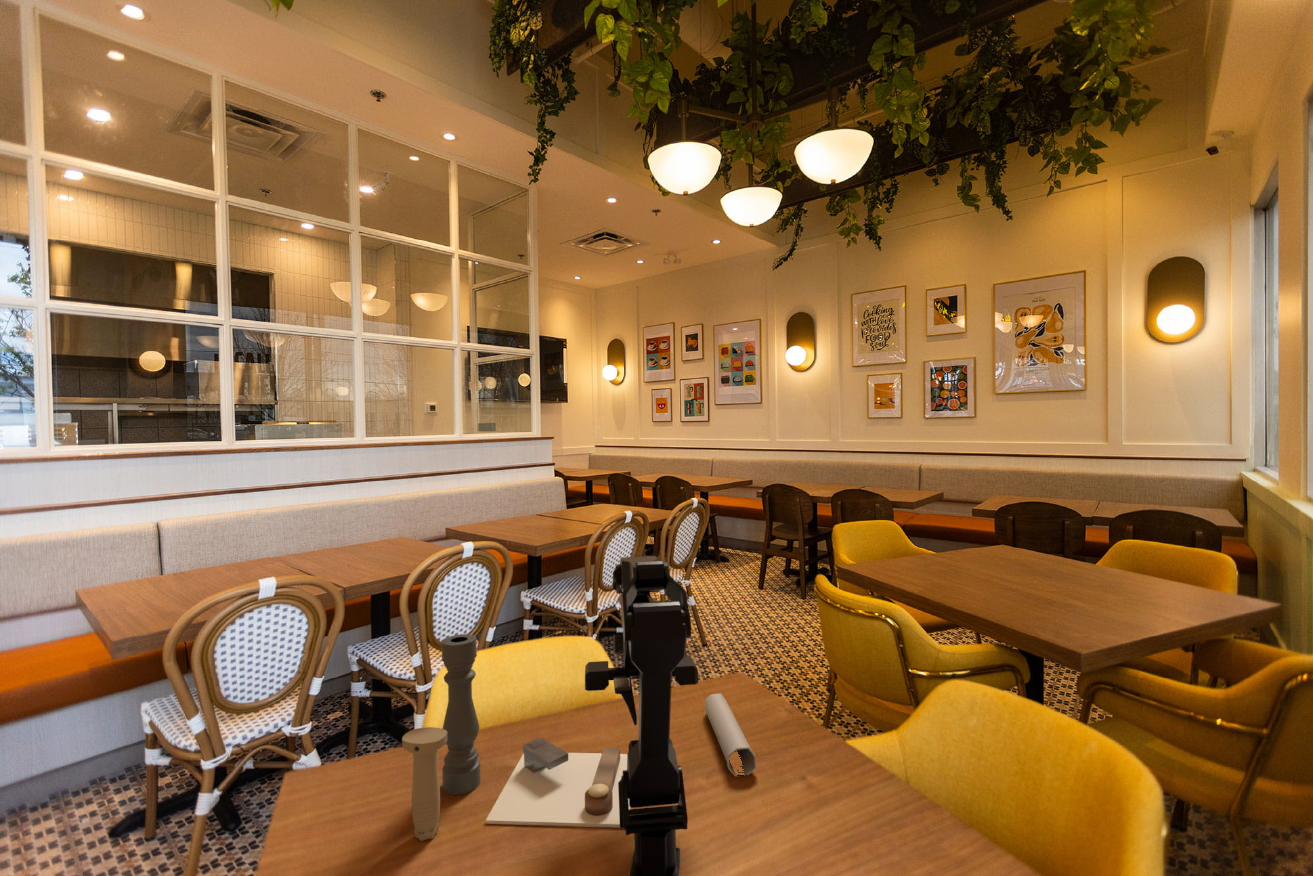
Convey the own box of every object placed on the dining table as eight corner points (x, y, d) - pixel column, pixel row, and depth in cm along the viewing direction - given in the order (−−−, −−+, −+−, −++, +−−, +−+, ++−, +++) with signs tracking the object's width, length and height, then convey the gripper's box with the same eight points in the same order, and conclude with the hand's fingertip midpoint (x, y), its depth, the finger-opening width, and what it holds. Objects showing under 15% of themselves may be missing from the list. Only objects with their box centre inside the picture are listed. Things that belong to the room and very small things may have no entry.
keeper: (568, 776, 102) (568, 753, 102) (549, 786, 99) (549, 762, 99) (540, 758, 108) (540, 736, 108) (521, 767, 105) (521, 745, 105)
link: (610, 815, 91) (610, 803, 91) (582, 815, 92) (582, 802, 92) (624, 759, 107) (623, 748, 107) (600, 758, 108) (600, 747, 108)
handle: (439, 847, 86) (437, 744, 86) (397, 844, 86) (395, 742, 87) (454, 825, 90) (452, 728, 91) (415, 823, 91) (413, 726, 91)
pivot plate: (626, 827, 89) (626, 806, 89) (485, 823, 91) (485, 802, 91) (640, 756, 109) (640, 739, 109) (524, 754, 111) (524, 736, 111)
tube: (698, 694, 127) (722, 754, 102) (721, 684, 128) (751, 742, 103) (706, 717, 127) (733, 782, 102) (729, 707, 128) (761, 770, 103)
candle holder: (434, 789, 100) (432, 642, 100) (462, 771, 106) (459, 631, 106) (461, 799, 97) (458, 648, 97) (488, 779, 103) (485, 636, 103)
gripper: (687, 614, 108) (689, 699, 108) (585, 619, 106) (587, 705, 106) (697, 634, 97) (699, 728, 97) (584, 640, 95) (585, 736, 95)
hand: (641, 723), depth 99 cm, fingers closed
